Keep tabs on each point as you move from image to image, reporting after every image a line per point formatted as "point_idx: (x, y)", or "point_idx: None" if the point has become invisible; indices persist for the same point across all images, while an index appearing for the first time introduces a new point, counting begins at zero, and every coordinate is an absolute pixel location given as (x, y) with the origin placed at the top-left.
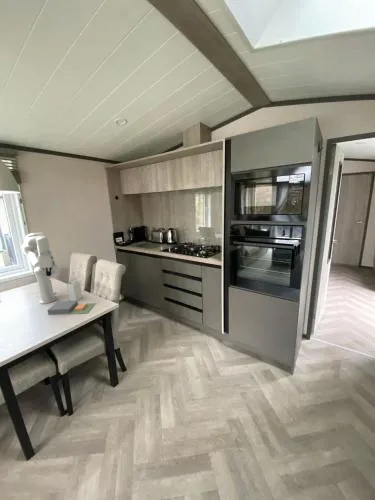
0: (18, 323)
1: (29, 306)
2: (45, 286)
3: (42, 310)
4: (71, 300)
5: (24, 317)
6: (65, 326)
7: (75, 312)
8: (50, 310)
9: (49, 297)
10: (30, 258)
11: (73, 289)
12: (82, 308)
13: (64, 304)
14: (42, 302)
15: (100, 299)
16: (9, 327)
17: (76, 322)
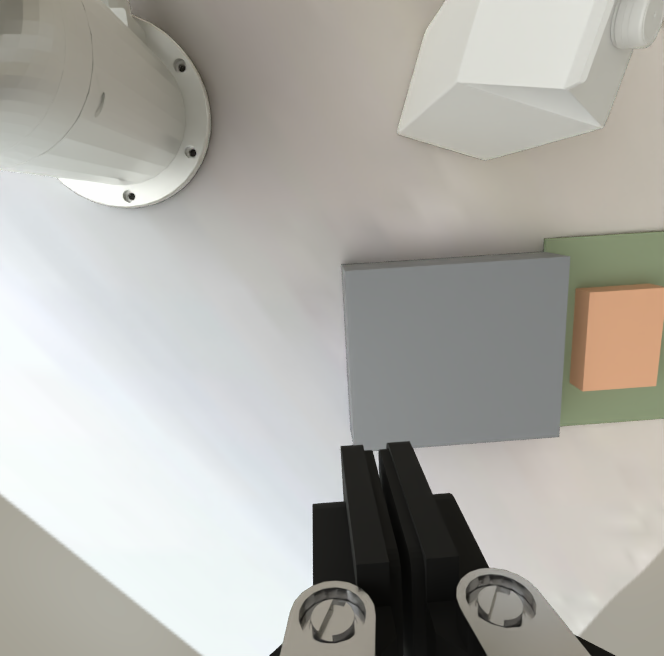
0: (188, 546)
1: (9, 259)
2: (69, 147)
3: (232, 350)
4: (421, 141)
5: (158, 465)
6: (588, 580)
7: (586, 407)
8: (382, 446)
9: (160, 153)
10: None
11: (543, 137)
12: (653, 380)
13: (467, 346)
14: (110, 202)
15: None
16: (165, 592)
17: (648, 535)
